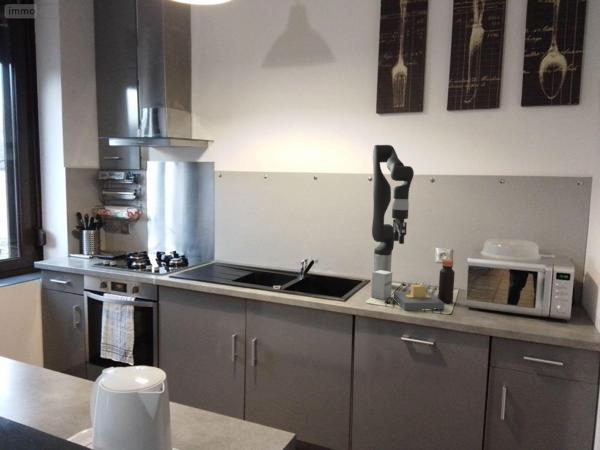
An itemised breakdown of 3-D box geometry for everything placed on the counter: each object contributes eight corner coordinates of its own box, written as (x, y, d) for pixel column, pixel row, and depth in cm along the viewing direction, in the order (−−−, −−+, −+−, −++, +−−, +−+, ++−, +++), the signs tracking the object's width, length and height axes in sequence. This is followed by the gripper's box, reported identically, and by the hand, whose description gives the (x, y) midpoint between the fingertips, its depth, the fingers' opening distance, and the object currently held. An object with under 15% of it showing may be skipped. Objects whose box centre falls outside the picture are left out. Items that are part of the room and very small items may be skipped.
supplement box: (383, 299, 226) (384, 274, 225) (370, 296, 231) (371, 271, 230) (391, 297, 232) (392, 272, 230) (378, 294, 237) (380, 269, 235)
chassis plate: (393, 299, 228) (393, 292, 227) (429, 299, 229) (429, 292, 229) (404, 310, 210) (404, 302, 210) (443, 310, 212) (443, 302, 211)
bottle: (443, 304, 221) (445, 262, 218) (435, 300, 227) (437, 259, 225) (455, 303, 222) (458, 262, 220) (447, 299, 229) (450, 259, 227)
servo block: (404, 303, 221) (405, 282, 220) (427, 303, 222) (428, 282, 221) (407, 305, 217) (408, 284, 216) (430, 305, 218) (431, 284, 217)
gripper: (412, 210, 215) (411, 244, 217) (403, 207, 229) (402, 240, 231) (396, 209, 214) (395, 244, 216) (388, 207, 228) (387, 240, 230)
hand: (398, 242), depth 224 cm, fingers open, 8 cm apart
